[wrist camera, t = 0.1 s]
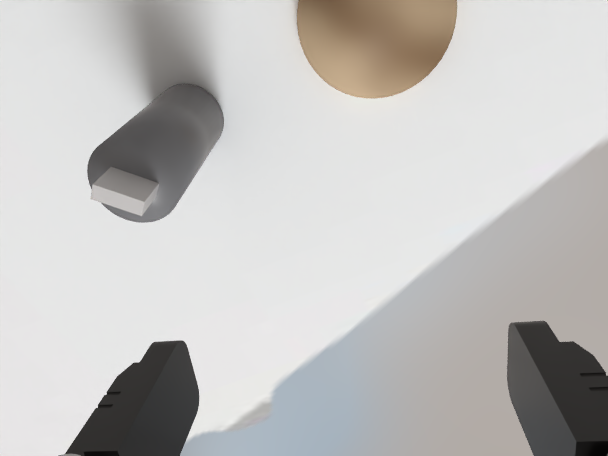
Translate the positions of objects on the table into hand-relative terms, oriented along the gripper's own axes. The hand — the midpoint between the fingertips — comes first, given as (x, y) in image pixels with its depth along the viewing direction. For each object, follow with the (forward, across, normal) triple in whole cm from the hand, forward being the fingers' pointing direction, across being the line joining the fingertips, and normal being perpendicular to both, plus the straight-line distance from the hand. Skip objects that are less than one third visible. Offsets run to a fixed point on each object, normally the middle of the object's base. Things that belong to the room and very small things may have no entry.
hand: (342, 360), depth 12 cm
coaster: (+21, -2, -8) cm, 23 cm away
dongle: (+22, +10, -3) cm, 25 cm away
